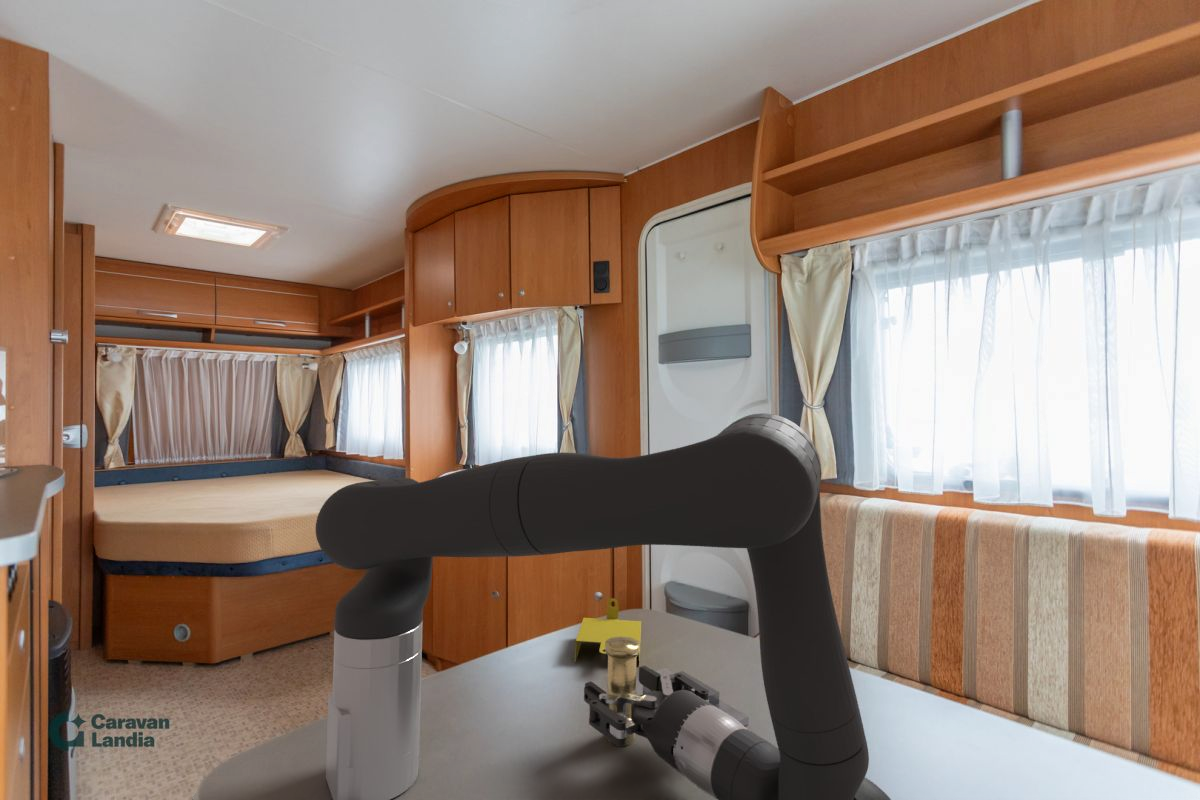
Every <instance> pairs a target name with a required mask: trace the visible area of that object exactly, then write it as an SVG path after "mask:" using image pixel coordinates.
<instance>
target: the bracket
mask: <svg viewBox="0 0 1200 800" xmlns="http://www.w3.org/2000/svg"><path fill="white" fill-rule="evenodd" d="M612 602H614V604H615V605H614V606H612V605H611V603H612ZM579 627H580V628H579V630H578V632H577V635H576V639H575V654H574V655H575V656H574V663H575V662H577V659H578V656H579V652H580V649H581V645H582V643H583V642H587V643H588V642H589V643H597V644H599V643H600V646H599V651H598V652H599V653H601V654H603V655H607V654H606V652H605V642H606V640H608V639H610V638H613V637H630V638H633V639H636V640H637V641H639V643H641V639H642V621H641V620H627V619H626V620H625V619H619V601H618V600H617V599H616V598H613V597H612V598H609V599H608V600H607V601H606V618H595V617H594V618H593V617H583V618H582V621H581V624H580V626H579ZM640 655H641V652H640V653H639V655H638V660H640V658H641V656H640Z"/></svg>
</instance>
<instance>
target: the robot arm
mask: <svg viewBox="0 0 1200 800" xmlns="http://www.w3.org/2000/svg"><path fill="white" fill-rule="evenodd" d="M821 479H822V464H821V459H820V455H819V453H818V449H817V448H816V446H815V444H814V443H813V441H812V438H810V436H809V435H808V434H807V433H806V432H805V430H803V429H802V428H801V427H800V426H799V425H798V424H796V423H795V422H793V421H792V420H790V419H788V418H785V417H783V416H780V415H777V414H772V413H764V412H763V413H753V414H749V415H746V416H743V417H741V418H739V419H737V420H735V421H733V422H732V423H730V424H729V425H728V426H727V427H724V429H722V431H720V432H719V433H717V435H715V436H713V437H709V438H708V439H706V440H702V441H698V442H695V443H692V444H688V445H685V446H682V447H677V448H673V449H667V450H663V451H659V452H653V453H649V454H644V455H637V456H630V457H629V456H628V457H608V456H599V455H594V454H586V453H579V452H578V453H577V452H549V453H541V454H535V455H529V456H528V455H527V456H521V457H516V458H510V459H505V460H501V461H500V460H499V461H496V462H492V463H486V464H483V465H478V466H474V467H471V468H467V469H464V470H460V471H456V472H452V473H449V474H445V475H442V476H438V477H434V478H432V479H428V480H424V481H420V482H419V481H417V480H416V479H413V478H409V477H393V478H386V479H385V478H383V479H376V480H369V481H362V482H361V481H360V482H356V483H352V484H348V485H345V486H344V487H341V488H340V489H338V490H337V491H335V492H333V493H332V494H331V495H330V496H329V497H328V498H327V499H326V501H325V502H324V503H323V505H322V506H321V507H320V509H319V512H318V514H317V517H316V522H315V537H316V541H317V543H318V545H319V548H320V549H321V550H322V552H323V553H324V555H325V556H326V557H327V558H328V559H329V560H330V561H332V562H333V563H334V564H336V565H338V566H340V567H342V568H344V569H348V570H349V569H350V570H352V571H364V570H366V571H365V572H364V574H363V576H362V577H361V579H359V582H357V583H356V584H355V585H354V586H353V587H352V588H351V589H350V590H349V591H348V592H346V593H345V594H344V595H343V596H342V597H341V598H340V599H339V600H338V602H337V603H336V606H335V610H334V625H333V626H334V631H333V632H334V635H333V636H334V637H333V638H334V639H333V670H332V671H333V673H332V691H330V692H329V693H327V694H328V695H327V696H328V697H327V721H326V722H327V724H326V726H327V727H326V729H327V731H326V758H325V759H326V762H325V763H326V764H325V765H326V766H325V780H326V783H327V785H328V786H327V787H328V789H329V791H330V792H329V793H330V794H331V798H332V800H392V799H394V798H396V797H398V796H400V795H401V794H403V793H404V792H406V791H407V790H408V789H410V788H411V786H412V785H413V784H414V783H415V782H416V780H417V778H418V777H419V776H418V775H419V766H420V765H419V764H420V733H421V732H420V730H421V729H420V728H421V726H420V725H421V698H422V697H421V696H422V695H421V694H422V690H421V689H422V658H423V657H422V655H423V654H422V653H423V651H422V650H423V627H424V626H423V621H424V620H423V619H424V617H423V615H424V606H425V605H426V602H427V600H428V598H429V595H430V591H431V587H432V576H433V574H432V573H433V564H434V563H433V562H434V557H436V558H437V557H440V558H441V557H442V558H497V557H500V558H501V557H503V558H505V557H507V558H508V557H513V558H514V557H515V558H516V557H532V556H533V557H534V556H546V555H555V554H565V553H572V552H585V551H598V550H607V549H608V550H609V549H617V548H623V547H624V548H625V547H633V546H649V545H650V546H653V545H655V546H657V545H659V546H665V545H666V546H685V547H706V548H707V547H708V548H722V549H723V548H727V549H746V550H747V554H748V558H749V559H748V560H749V562H750V566H751V571H752V577H753V578H752V579H753V583H754V591H755V597H756V598H755V600H756V605H757V606H756V609H757V610H756V611H757V620H758V637H759V638H758V639H759V650H760V662H761V663H760V664H761V672H762V680H763V686H764V691H765V696H766V702H767V706H768V707H767V708H768V710H769V715H770V718H771V723H772V724H771V725H772V728H773V731H774V735H775V741H776V744H777V746H775V745H774V744H772V743H771V742H769V741H768V740H766V739H764V738H763V737H761V736H760V735H758V734H756V733H754V732H753V731H752V730H749V728H747V727H746V726H743V725H742V724H741V723H740V722H739V721H737V720H736V719H735V718H733V717H732V716H730V715H728V714H727V713H725V712H723V711H722V710H720V709H718V708H717V707H715V706H714V705H712V704H710V703H709V691H708V690H706V689H705V688H703V687H702V686H700V685H698V684H697V683H695V682H694V681H692V680H691V679H689V678H688V677H686V676H685V675H683V674H681V673H678V672H675V673H676V674H675V675H674V678H670V676H669V675H660V674H659V673H657V672H656V671H657V670H654V669H652V668H649V667H648V666H646V665H643V666H642V665H641V666H638V667H639V668H638V676H639V682H640V683H641V684H642V685H644V686H645V687H647V688H648V689H650V690H651V691H650V692H648V693H647V694H644V695H633V694H627V693H621V694H620V696H615V695H610V694H607V691H605V690H604V689H603V688H601V687H600V686H599V685H597V684H596V683H594V682H593V681H588V682H585V684H584V687H583V700H584V702H585V703H587V704H588V705H589V714H588V715H589V716H588V725H590V726H591V727H592V728H593V729H595V730H597V731H598V732H599V733H600V734H601V735H603V736H604V737H605V738H606V737H607V738H608V739H610V740H611V741H612V742H614V743H615V744H616V745H619V746H618V747H624V746H623V745H625V744H626V736H628V735H631V734H633V733H635V735H637V736H640V737H643V738H646V739H647V741H648V742H649V743H650V746H651V747H652V749H653V751H654V752H655V754H656V755H657V756H658V757H659V758H661V759H662V760H663V761H664V762H665V763H666V764H668V765H669V766H670V767H672V768H673V769H674V770H675V771H676V772H678V773H679V774H680V775H682V776H683V777H684V778H685V779H687V780H688V781H689V782H690V783H692V784H693V785H695V787H697V788H698V789H699V790H701V791H702V792H704V793H706V794H708V795H709V796H711V797H713V798H715V799H716V800H892V799H891V798H890V797H889V796H888V794H887V793H886V792H884V790H882V789H881V788H880V787H879V786H878V785H877V784H876V783H875V782H873V781H871V780H870V779H868V778H867V777H866V775H867V772H868V769H869V764H870V763H869V762H870V756H869V755H870V754H869V748H868V742H867V739H866V738H867V736H866V734H865V729H864V723H863V720H862V715H861V712H860V707H859V703H858V697H857V694H856V691H855V690H856V689H855V686H854V681H853V679H852V674H851V673H852V672H851V669H850V666H849V662H848V657H847V654H846V649H845V646H844V641H843V637H842V634H841V629H840V625H839V621H838V618H837V612H836V609H835V604H834V599H833V595H832V590H831V586H830V580H829V579H830V578H829V574H828V569H827V568H828V567H827V561H826V555H825V548H824V539H823V530H822V527H823V526H822V515H821V514H822V513H821V512H822V511H821V482H822V481H821ZM684 687H685V690H684ZM626 703H629V704H631V719H629V718H627V716H626ZM609 704H614V705H616V706H617V712H614V711H613V710H611V709H610V708H609Z"/></svg>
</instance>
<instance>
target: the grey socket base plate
mask: <svg viewBox="0 0 1200 800" xmlns="http://www.w3.org/2000/svg"><path fill="white" fill-rule="evenodd" d="M655 671H656V672H657V673H659V674H660V675H669V676H670V678H674V675H675V674H676V673H681V674H683V675H685V676H686V677H688V678H689V679H691V680H692V681H694V682H695V683H697V684H698V685H700V686H702V687H703V688H705V689H706V690H708V691H709V703H710V704H712V705H714V706H715V707H717V708H718V709H720V710H722V711H723V712H725V713H727V714H728V715H730V716H732V717H733V718H735V719H736V720H737V721H739V722H740V723H741V724H742V725H743V726H744V727H746V726H749V716H748V715H747V714H744V713H743V712H742V711H739V710H738V709H736V708H734V707H732V706H731V705H729V704H728V703H726V702H724V701H723V700H721V699H720V691H718V690H716V689H715V688H713V687H711V686H710V685H708V684H706V683H704V682H703V681H700V680H699V679H697V678H695V677H694V676H692V675H690V674H688V673H686V672H684V671H683V670H680V671H679V672H673V671H672V670H670V669H668V668H666V667H664V668H661V669H657V670H655ZM684 690H685V687H684ZM650 691H651V690H650V689H648V688H647V687H645V686H644V685H642V684H641V683H640V682H639V675H638V676H637V675H636V695H644V694H647V693H648V692H650Z"/></svg>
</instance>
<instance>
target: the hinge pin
mask: <svg viewBox="0 0 1200 800" xmlns="http://www.w3.org/2000/svg"><path fill="white" fill-rule="evenodd" d="M604 652H606V654H605V655H607V686H606V687H607V689H606V690H607V691H606V694H610V695H615V696H620V694H621V693H627V694H633V695H636V677H637V657H639V653H640V654H641V644H640V643H639V641H637V640H636V639H633V638H630V637H613V638H610V639H608V640H606V642H605V650H604ZM609 708H610V709H611V710H613V711H614V712H617V706H616V705H614V704H609ZM626 716H627V718H629V719H631V704H629V703H626ZM635 736H636V734H635V733H633V734H631V735H628V736H626V744H625V745H623V746H622V747H627V746H630V745H633V743H634V742H635ZM605 738H606V741H607V742H608V743H609V744H610V745H613V746H616V747H620V746H619V745H616V744H615V743H614V742H612V741H611V740H610V739H608V738H607V737H606V736H605Z"/></svg>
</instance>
